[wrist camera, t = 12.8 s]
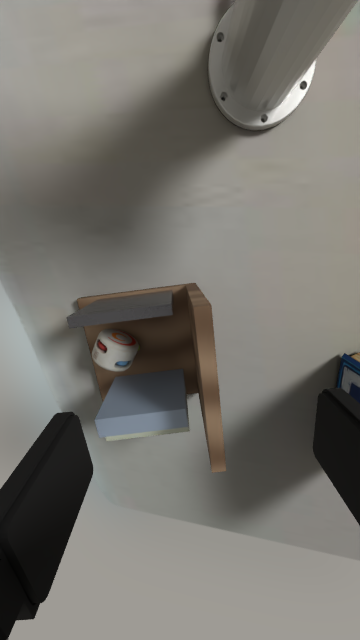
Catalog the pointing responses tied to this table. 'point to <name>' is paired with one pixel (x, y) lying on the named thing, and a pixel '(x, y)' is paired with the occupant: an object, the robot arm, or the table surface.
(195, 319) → the shelf
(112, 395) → the standing books
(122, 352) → the roller toy
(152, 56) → the table surface
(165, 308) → the bookend
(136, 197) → the table surface
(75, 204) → the table surface
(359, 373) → the book
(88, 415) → the table surface
